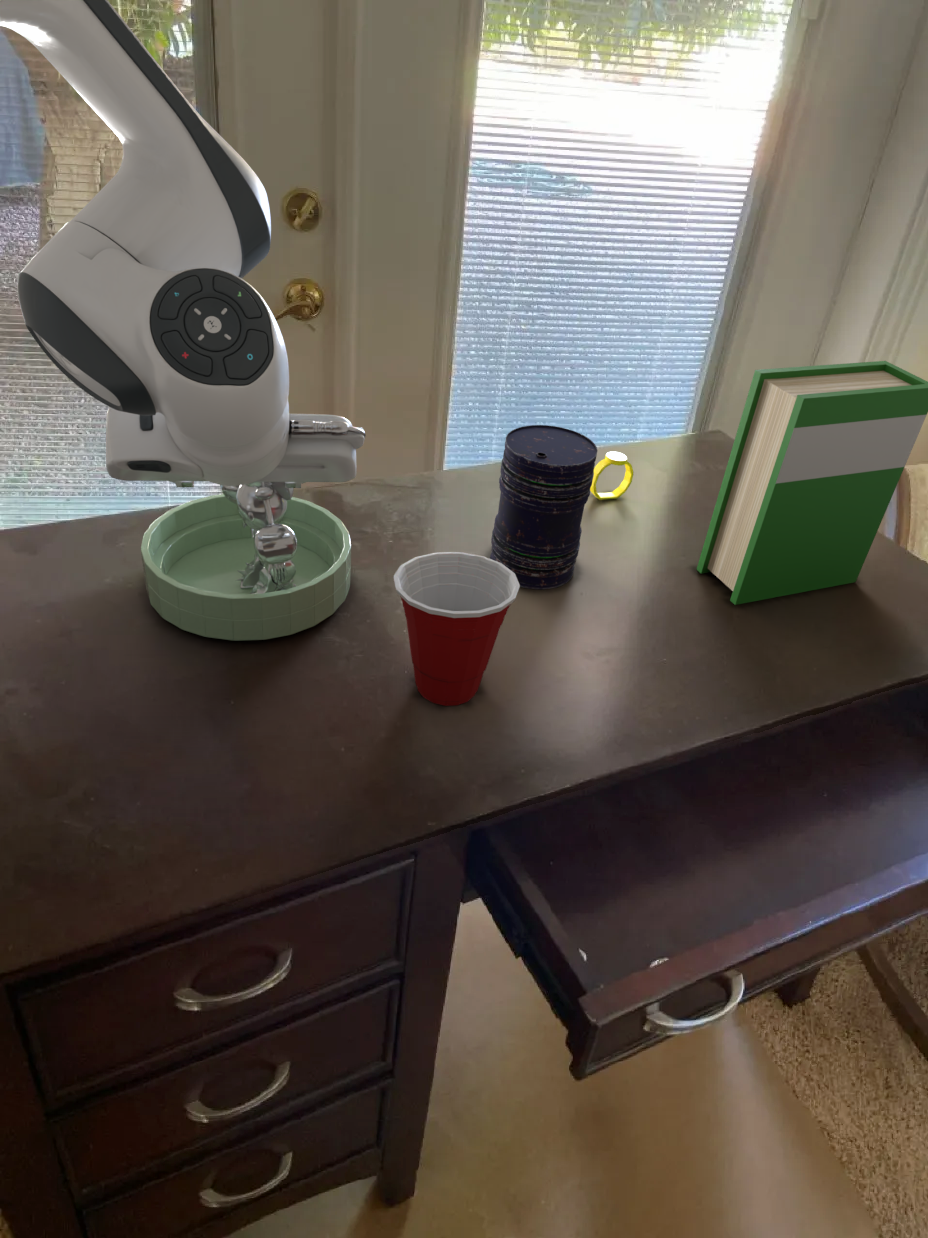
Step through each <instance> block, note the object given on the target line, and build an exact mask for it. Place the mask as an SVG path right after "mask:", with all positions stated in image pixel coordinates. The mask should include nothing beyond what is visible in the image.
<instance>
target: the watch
mask: <svg viewBox="0 0 928 1238" xmlns="http://www.w3.org/2000/svg"><path fill="white" fill-rule="evenodd" d="M611 465H613V466H624V467H625V472H624V477H623V479H622V481H621V482H620V484H619V486H617V488H615V489H613V491H610V492H598V489H597V482H598V480H599V477H600V475H601V474H602V473H603V472H604V470H605V469H606V468H608V467H609V466H611ZM634 473H635V472H634V469H633V465H632V463H630V461H628V457H627V455H625V454H624V453H622V452H619V451H608V452H606V454H605V456H604V458H603V459H601V460H599V461H598V463H597V464H595V466H594V476H593V481H592V486H591V487H590V493H591V494H592V495H593V496H594V497H595V498H596V499H597V500H599V501H602V500H613V499H614V500H615V499H619V498H620V497H622V496H623V495H624V494H625V493H627V491H628V489H629V488H630V486H631V485H632V483H633V478H634Z"/></svg>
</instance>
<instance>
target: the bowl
mask: <svg viewBox="0 0 928 1238" xmlns="http://www.w3.org/2000/svg"><path fill="white" fill-rule="evenodd" d="M242 524H243V519H242V518H241V516H240V514H239V512H238V508H237V505H236V504H234V503H232V502H230V501H229V500H228V499H227V498H226V497H225V496H224V494H223V493H221V494H220V493H219V494H212V495H209V496H204V497H200V498H197V499H196V498H195V499H193V500H190V501H187V502H185V503H183V504H181V505H178V506H176V507H174V508H171V509H169V510H167V511H166V512H165V513H164V514H162V515H161V516H159V517H158V518H157V519H155V520H154V521H153V522H152V523H151V524H150V525H149V527H148V528H147V529H146V531H145V532H144V533H143V536H142V540H141V545H140V555H141V562H142V569H143V577H144V584H145V589H146V593H147V597H148V601H149V604H150V606H152V608H153V609H154V610H155V611H156V612H157V613H158V615H159V616H160V617H161V618H162V619H163V620H165V621H167V622H168V623H170V624H172V625H173V626H175V627H177V628H179V629H180V630H181V631H186V632H187V633H188V632H189V633H192V634H195V635H198V636H201V637H205V638H209V639H210V638H212V639H217V640H226V641H235V642H236V641H237V642H239V641H262V640H263V641H265V640H271V639H276V638H281V637H286V636H291V635H294V634H296V633H299V632H302V631H304V630H305V631H306V630H307V629H310V628H313V627H315V626H317V625H318V624H320V623H321V622H323V621H325V620H326V619H327V618H329V617H331V616H333V615H334V613H335V612H336V611H337V610H338V609H339V608H340V607H341V605H342V604H343V603H345V601H346V599H347V596H348V594H349V591H350V587H351V573H352V571H351V567H352V566H351V565H352V544H351V543H352V542H351V535H350V532H349V530H348V529H347V527H346V525H345V524H344V523H343V521H342V520H341V519H340V518H339V517H337V516H336V515H335V514H333V512H330V510H329V509H327V508H325V507H322V506H320V505H318V504H317V503H314V502H312V501H309V500H306V499H303V498H298V497H295V496H292V499H291V500H288V501H287V511H286V514H285V515H284V517H283V519H282V521H281V522H280V523H279V524H283V525H286V526H288V527H289V528H290V529H291V530H292V531H293V532H294V534H295V536H296V539H297V551H296V554H295V556H294V557H293V558H292V559H291V560H292V561H293V563H294V564H295V567H296V573H295V576H294V578H293V581H292V582H290V583H292V584H295V585H296V586H295V587H293V588H290V589H286V590H280V591H276V590H278V589H279V588H276V590H275V591H274V592H269V593H263V594H250V593H251V590H252V588H243V589H242V588H240V585H241V581H236V580H237V579H240V578H242V576H243V575H242V574H241V573H239V572H238V571H237V570H241V571H244V569H245V568H246V566H247V565H246V563H245V562H247V563H248V564H249V563H251V562H252V561H253V560H254V554H255V549H254V538H252V536H251V531H250V527H249V526H248V525H247V526H246V527H245V528H244V527H243V525H242ZM256 533H257V532H256ZM253 535H254V534H253Z"/></svg>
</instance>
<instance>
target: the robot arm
mask: <svg viewBox="0 0 928 1238" xmlns="http://www.w3.org/2000/svg"><path fill="white" fill-rule="evenodd" d="M0 27H5V28H7V29H10V30H12V31H13V32H15V33H17V34H19V35H21V37H23V38H24V39H26V40H27V41H28V42H29V43H31V44H32V46H34V47H35V48H36V49H37V50H38V52H40V54H41V55H42V56H43V57H44V58H45V59H46V60H47V62H48V63H50V65H52V67H53V68H54V70H56V71H57V72H58V73H59V74H60V76H61V77H62V78H64V80H65V81H66V82H67V83H68V85H70V86H71V87H72V89H74V91H75V92H76V93H77V94H78V95H79V96H80V97H81V98H82V99H83V100H84V102H85V103H86V104H87V105H88V106H89V107H90V108H91V109H92V110H93V111H94V112H95V114H96V115H98V117H99V118H100V119H101V120H102V121H103V122H104V123H105V124H106V125H107V127H109V128H110V130H111V131H112V132H113V133H114V134H115V135H116V137H118V139H119V141H120V143H121V146H122V159H121V163H120V165H119V168H118V170H117V172H116V173H115V175H114V176H113V177H112V178H111V179H110V180H109V181H108V182H107V183H106V184H105V185H104V186H103V187H102V188H101V189H100V190H99V191H98V192H97V193H96V194H95V195H94V196H93V197H92V199H90V200H89V201H88V202H87V204H86V205H85V206H84V207H82V209H80V211H79V212H77V214H76V215H74V217H73V218H72V219H71V220H69V221H67V222H66V223H65V224H64V225H63V226H62V227H61V228H60V229H59V230H58V231H57V232H56V233H55V234H54V235H53V236H52V237H51V238H50V239H49V240H48V241H47V242H46V244H44V246H43V247H42V248H41V249H39V251H38V252H37V253H36V254H35V255H34V256H33V257H32V258H31V259H30V260H29V262H27V263H26V265H25V266H24V268H23V269H22V270H21V271H20V272H18V274H17V298H18V302H19V306H20V307H19V308H20V311H21V314H22V317H23V321H24V325H25V327H26V329H27V330H28V333H29V334H30V335H31V336H32V338H33V339H34V341H35V342H36V343H37V345H38V346H39V347H40V349H41V350H42V351H43V353H44V354H45V355H46V356H47V358H48V359H49V360H50V361H51V362H52V363H53V364H54V365H55V367H56V368H57V369H58V370H59V371H60V372H61V373H62V374H64V375H65V376H66V378H68V379H69V380H70V381H71V382H73V383H74V384H75V385H76V386H77V387H78V388H80V389H81V390H82V391H84V392H85V393H86V394H88V395H89V396H90V397H92V398H94V399H95V400H96V401H99V402H100V403H102V404H104V405H106V406H107V407H108V409H107V411H106V417H105V419H106V420H105V421H106V422H105V468H106V471H107V474H108V475H109V477H111V478H112V479H115V480H119V481H124V482H169V483H174V484H175V487H176V488H194V487H195V482H210V483H212V484H216V485H219V486H220V485H226V486H239V485H245V484H249V483H253V482H285V488H294V489H302V485H303V484H306V483H347V482H349V481H352V480H354V479H355V478H357V450H358V449H360V448H362V447H363V446H364V443H365V441H366V437H367V436H366V432H365V429H364V428H363V427H361V426H360V427H359V426H353V424H352V422H351V421H350V420H349V419H348V418H345V417H344V416H341V415H336V414H322V413H321V414H319V413H315V414H314V413H290V403H289V394H290V367H289V366H290V365H289V357H288V352H287V348H286V343H285V339H284V337H283V334H282V332H281V328H280V326H279V323H278V322H277V320H276V317H275V315H274V314H273V312H272V310H271V309H270V306H269V305H268V304H267V302H266V300H265V299H264V297H262V295H261V294H260V293H259V292H258V290H256V288H255V287H254V286H253V285H251V284H250V283H249V282H247V281H246V280H245V279H244V277H246V276H247V275H248V274H249V273H250V272H252V270H253V269H254V268H255V267H256V266H258V265H259V264H260V263H261V262H262V261H263V260H264V259H265V258H267V256H268V255H269V252H270V250H271V249H270V248H271V243H272V240H271V239H272V217H271V208H270V202H269V198H268V194H267V190H266V189H265V186H264V185H263V183H262V181H261V180H260V178H259V176H258V175H257V173H256V172H255V171H254V170H253V168H252V167H251V166H250V165H249V164H248V162H247V161H246V160H245V159H244V158H243V157H242V155H240V153H238V151H236V150H235V149H234V148H233V147H232V145H230V143H228V141H227V140H225V138H224V137H223V136H221V135H220V134H219V133H218V132H217V131H216V129H215V128H213V126H211V124H210V123H209V122H207V120H206V119H205V118H204V117H202V115H200V113H199V112H198V111H197V109H195V107H194V106H193V105H192V104H191V102H190V101H189V100H188V98H186V96H185V95H184V94H183V93H182V92H181V90H180V89H179V87H178V86H177V85H176V84H175V82H173V80H172V79H171V78H170V76H169V75H168V74H167V72H166V71H165V70H164V69H163V68H162V66H161V65H160V64H159V62H157V60H156V59H155V58H154V56H153V55H152V53H150V51H149V50H148V49H147V48H146V46H145V45H144V44H143V43H142V42H141V40H140V38H138V36H137V35H136V34H135V33H134V31H133V30H132V29H131V28H130V27H129V25H128V23H127V22H125V20H124V19H123V18H122V16H121V15H120V14H119V12H118V11H117V10H116V8H115V7H114V6H113V5H112V4H111V3H110V1H109V0H0Z"/></svg>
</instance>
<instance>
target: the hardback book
mask: <svg viewBox="0 0 928 1238" xmlns="http://www.w3.org/2000/svg"><path fill="white" fill-rule="evenodd" d="M751 379H752V380H751V383H750V386H749V389H748V393H747V396H746V401H745V403H744V407H743V409H742V413H741V416H740V420H739V424H738V428H737V431H736V433H735V437H734V441H733V444H732V447H731V451H730V455H729V458H728V462H727V464H726V467H725V471H724V475H723V478H722V482H721V485H720V487H719V492H718V495H717V498H716V502H715V504H714V505H715V506H714V509H713V512H712V515H711V518H710V522H709V526H708V529H707V533H706V536H705V539H704V544H703V546H702V549H701V551H700V552H701V553H700V556H699V560H698V563H697V566H696V571H697V572H698V573H699V574H707V573H712V575H714V576H716V578H717V579H719V580H720V581H721V582H722V583H723V584H724V585H725V586H726V587H727V588H728V589H729V590H730V591H732V593H731V596H730V599H729V601H730V602H731V603H732V604H734V606H737V605H743V604H747V603H752V602H757V601H758V602H759V601H764V600H768V599H773V598H779V597H783V596H784V597H785V596H789V595H794V594H795V595H796V594H799V593H805V592H811V591H817V590H822V589H826V588H832V587H836V586H837V587H838V586H842V585H848V584H853V583H856V582H857V580H858V578H859V575H860V573H861V572H862V568H863V566H864V564H865V561H866V560H867V557H868V554H869V552H870V549H871V547H872V545H873V543H874V539H875V538H876V536H877V534H878V531H879V529H880V526H881V524H882V521H883V519H884V517H885V515H886V512H887V509H888V507H889V505H890V503H891V500H892V498H893V495H894V493H895V490H896V488H897V486H898V483H899V481H900V479H901V477H902V474H903V471H904V469H905V467H906V465H907V462H908V460H909V457H910V456H911V453H912V451H913V449H914V447H915V444H916V442H917V439H918V436H919V435H920V433H921V430H922V427H923V424H924V422H925V420H926V417H927V415H928V380H925V379H924V378H922V377H920V376H917V375H915V374H913V373H912V372H909V371H907V370H906V369H903V368H901V367H899V366H897V365H896V364H893V363H891V362H889V361H887V360H877V361H862V362H850V363H849V362H848V363H834V364H821V365H806V366H805V365H804V366H789V367H778V368H777V367H775V368H764V369H755V370H754V373H753V376H752V378H751Z"/></svg>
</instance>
